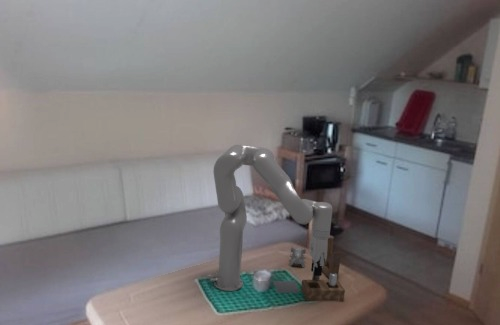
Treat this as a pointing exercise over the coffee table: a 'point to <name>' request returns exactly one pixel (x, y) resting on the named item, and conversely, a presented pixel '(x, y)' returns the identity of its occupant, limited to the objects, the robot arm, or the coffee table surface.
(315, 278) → the peg
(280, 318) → the coffee table surface
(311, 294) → the hole block
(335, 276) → the seated peg
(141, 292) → the coffee table surface
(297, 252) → the gray elephant figurine
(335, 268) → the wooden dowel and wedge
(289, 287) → the mat
